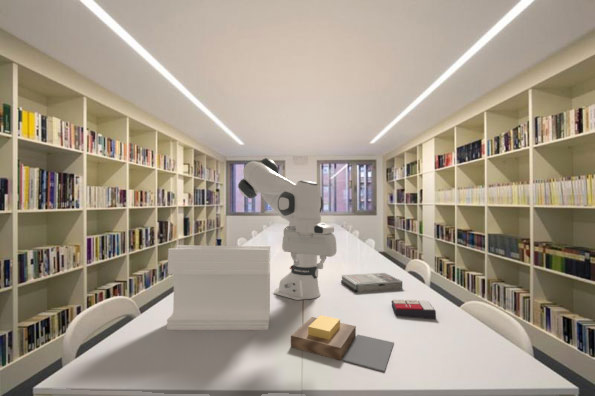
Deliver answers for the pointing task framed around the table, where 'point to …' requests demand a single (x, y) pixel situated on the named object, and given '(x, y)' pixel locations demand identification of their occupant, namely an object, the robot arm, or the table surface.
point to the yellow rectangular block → (324, 327)
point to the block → (220, 287)
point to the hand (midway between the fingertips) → (308, 266)
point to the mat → (369, 352)
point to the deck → (324, 340)
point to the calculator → (413, 309)
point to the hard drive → (371, 282)
